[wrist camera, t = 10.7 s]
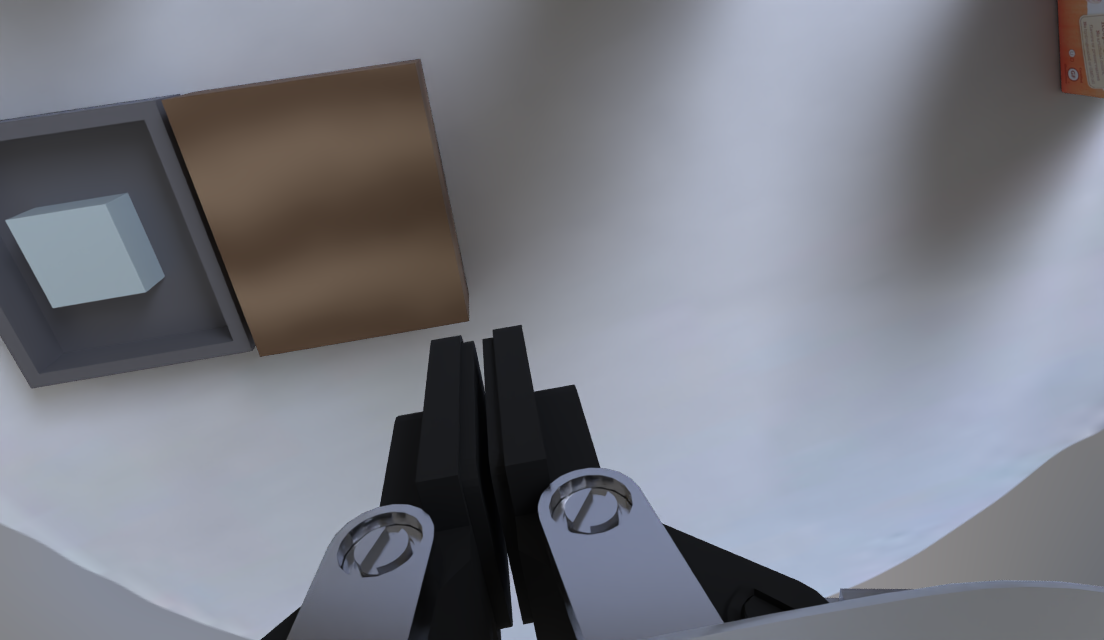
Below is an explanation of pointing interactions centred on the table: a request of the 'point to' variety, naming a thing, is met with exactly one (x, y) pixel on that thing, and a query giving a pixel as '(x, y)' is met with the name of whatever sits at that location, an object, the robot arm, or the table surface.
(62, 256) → the tile
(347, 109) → the board
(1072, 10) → the cracker box
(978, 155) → the table surface
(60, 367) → the tray
